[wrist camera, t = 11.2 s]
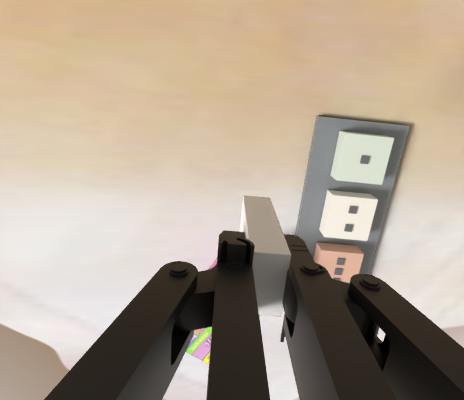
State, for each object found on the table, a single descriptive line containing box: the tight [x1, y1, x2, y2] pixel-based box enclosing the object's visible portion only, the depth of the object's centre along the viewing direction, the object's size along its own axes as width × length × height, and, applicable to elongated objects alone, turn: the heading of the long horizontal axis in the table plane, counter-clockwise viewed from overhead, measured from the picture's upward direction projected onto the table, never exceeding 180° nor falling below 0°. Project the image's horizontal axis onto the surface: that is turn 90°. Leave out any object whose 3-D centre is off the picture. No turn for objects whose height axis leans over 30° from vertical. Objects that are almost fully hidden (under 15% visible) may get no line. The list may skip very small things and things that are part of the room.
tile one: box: [330, 131, 394, 185], centre depth 40 cm, size 6×6×3 cm
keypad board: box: [295, 116, 410, 274], centre depth 45 cm, size 25×12×1 cm, turn 174°
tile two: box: [319, 190, 378, 241], centre depth 43 cm, size 6×6×3 cm
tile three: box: [313, 242, 364, 283], centre depth 45 cm, size 6×6×3 cm
